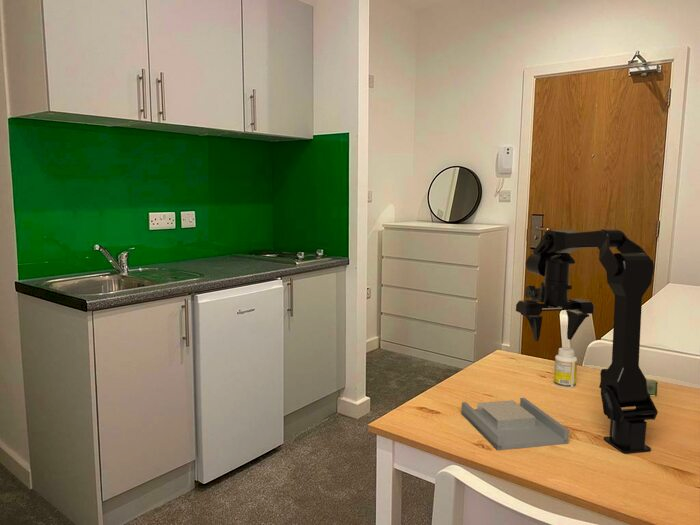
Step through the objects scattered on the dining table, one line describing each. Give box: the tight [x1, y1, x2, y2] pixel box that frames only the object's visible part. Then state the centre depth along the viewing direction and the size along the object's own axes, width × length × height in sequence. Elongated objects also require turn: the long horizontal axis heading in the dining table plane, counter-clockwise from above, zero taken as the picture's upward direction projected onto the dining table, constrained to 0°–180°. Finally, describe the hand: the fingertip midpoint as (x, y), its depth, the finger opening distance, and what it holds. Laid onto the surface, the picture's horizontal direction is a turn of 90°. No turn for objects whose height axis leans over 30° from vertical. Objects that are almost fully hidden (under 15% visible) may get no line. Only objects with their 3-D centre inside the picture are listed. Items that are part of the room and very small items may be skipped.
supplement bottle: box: [553, 347, 578, 389], centre depth 145 cm, size 6×6×10 cm
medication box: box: [646, 378, 659, 397], centre depth 140 cm, size 12×3×4 cm, turn 81°
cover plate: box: [476, 399, 536, 429], centre depth 122 cm, size 10×9×2 cm
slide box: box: [460, 397, 570, 451], centre depth 119 cm, size 18×16×3 cm
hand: (552, 340), depth 137 cm, fingers open, 9 cm apart
